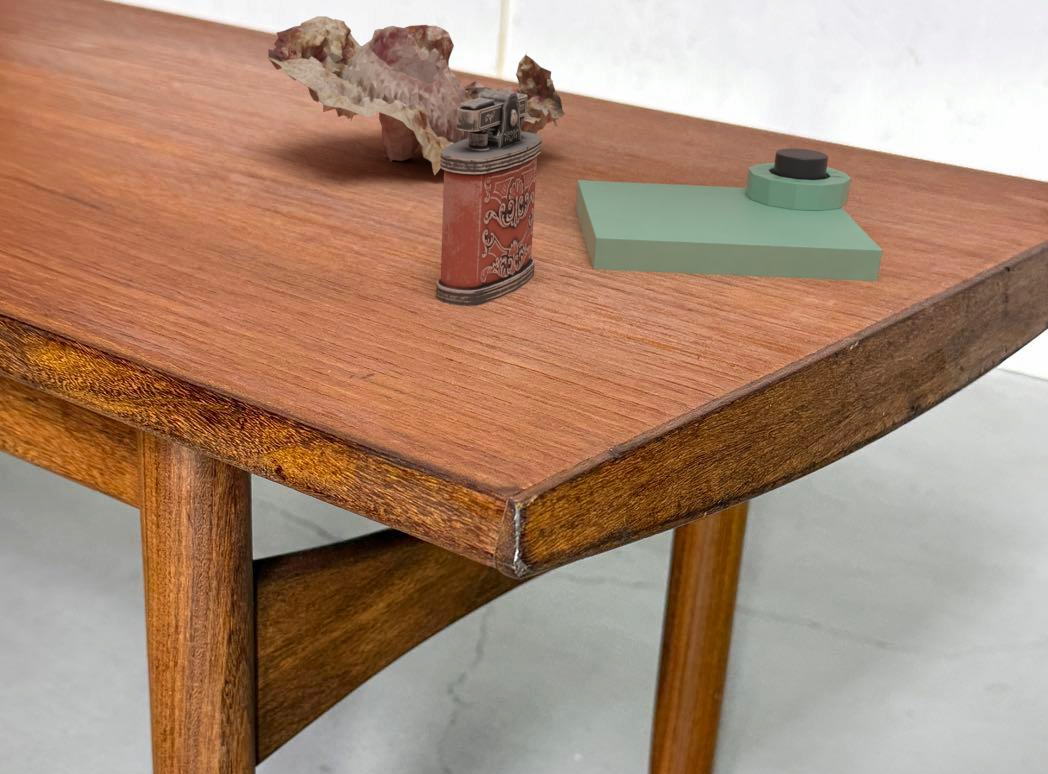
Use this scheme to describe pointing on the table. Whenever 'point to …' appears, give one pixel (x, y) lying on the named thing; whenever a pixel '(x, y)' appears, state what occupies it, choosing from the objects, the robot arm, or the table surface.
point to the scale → (728, 228)
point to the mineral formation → (400, 82)
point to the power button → (800, 164)
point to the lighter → (488, 202)
